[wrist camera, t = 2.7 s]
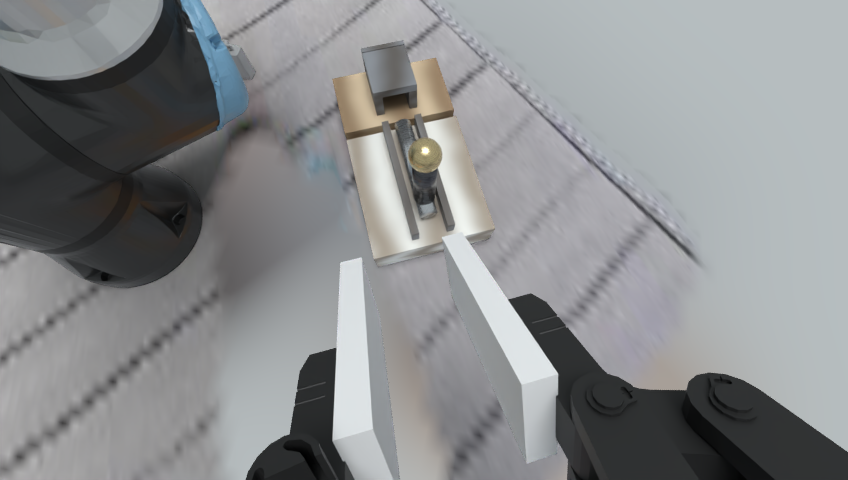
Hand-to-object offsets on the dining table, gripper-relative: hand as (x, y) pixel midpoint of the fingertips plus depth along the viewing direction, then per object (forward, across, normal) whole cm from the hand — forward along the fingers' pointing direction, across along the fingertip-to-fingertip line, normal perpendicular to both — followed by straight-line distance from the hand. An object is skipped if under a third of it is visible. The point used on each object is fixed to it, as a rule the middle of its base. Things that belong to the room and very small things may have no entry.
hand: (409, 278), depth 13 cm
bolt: (+29, +4, -5) cm, 29 cm away
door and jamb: (+34, +4, -6) cm, 35 cm away
